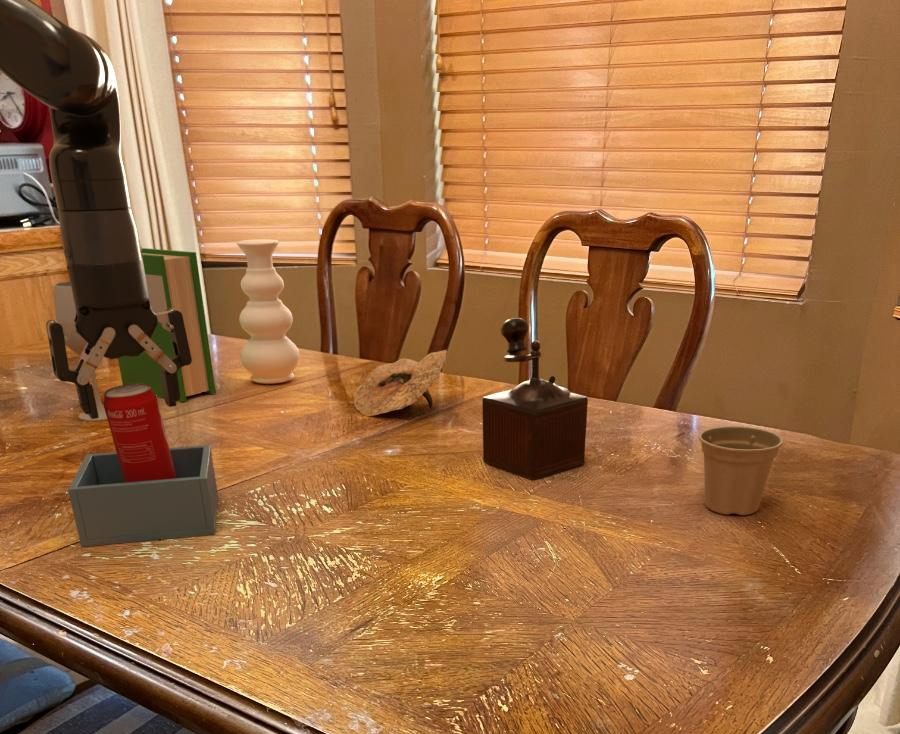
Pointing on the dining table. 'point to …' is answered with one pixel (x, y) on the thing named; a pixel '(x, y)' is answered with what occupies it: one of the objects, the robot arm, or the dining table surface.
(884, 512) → the dining table surface
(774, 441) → the flower pot
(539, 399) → the manual coffee grinder
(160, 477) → the beverage can
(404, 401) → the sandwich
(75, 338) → the wineglass
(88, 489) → the open box
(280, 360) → the vase
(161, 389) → the hardback book
